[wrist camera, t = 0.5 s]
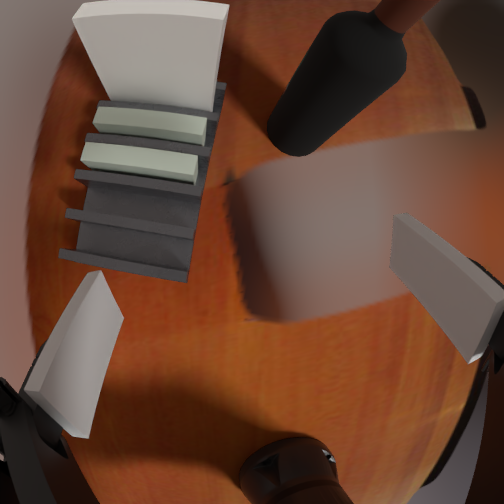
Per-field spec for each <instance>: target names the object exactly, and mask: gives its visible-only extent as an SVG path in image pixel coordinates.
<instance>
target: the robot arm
mask: <svg viewBox="0 0 504 504" xmlns="http://www.w3.org/2000/svg"><path fill="white" fill-rule="evenodd" d="M389 267H390V268H391V270H392V271H393V272H394V273H395V274H396V275H397V276H398V277H399V279H401V281H402V282H403V283H404V284H405V285H406V286H407V288H408V289H409V290H410V291H411V292H412V293H413V295H414V296H415V297H416V298H417V299H418V300H419V302H420V303H421V304H422V305H423V306H424V308H425V309H426V310H427V311H428V312H429V314H430V315H431V316H432V317H433V319H434V320H435V321H436V322H437V324H438V325H439V326H440V327H441V329H442V330H443V331H444V332H445V334H446V335H447V336H448V338H449V339H450V340H451V342H452V343H453V344H454V345H455V347H456V348H457V349H458V351H459V352H460V354H461V355H462V356H463V358H464V359H465V360H466V362H467V363H468V364H469V363H471V362H473V361H475V360H476V359H478V358H480V357H481V356H482V355H483V353H484V351H485V349H486V347H487V346H488V344H489V346H490V347H491V348H492V351H491V352H490V354H489V356H488V358H487V360H486V361H485V363H484V365H483V367H482V370H481V371H484V370H485V368H486V367H487V365H488V364H489V369H488V370H487V372H489V379H488V380H489V381H488V395H487V405H486V414H485V422H484V428H483V434H482V440H481V445H480V450H479V455H478V459H477V464H476V468H475V472H474V475H473V479H472V483H471V486H470V489H469V493H468V496H467V499H466V502H465V504H504V285H503V284H502V283H501V282H500V281H499V280H497V279H496V278H495V277H493V276H492V274H491V273H490V272H488V271H486V269H485V268H484V267H483V266H481V265H480V264H479V263H478V262H476V261H474V260H472V259H470V258H468V257H465V256H464V255H463V254H462V253H460V252H459V251H458V250H457V249H455V248H454V247H453V246H451V245H450V244H449V243H448V242H446V241H445V240H444V239H442V238H441V237H440V236H439V235H437V234H436V233H435V232H433V231H432V230H431V229H429V228H428V227H426V226H425V225H424V224H422V223H421V222H419V221H418V220H416V219H415V218H413V217H412V216H411V215H409V214H408V213H403V214H397V215H394V217H393V234H392V247H391V257H390V266H389ZM123 319H124V317H123V315H122V313H121V311H120V309H119V307H118V305H117V303H116V301H115V299H114V297H113V295H112V293H111V291H110V289H109V287H108V284H107V282H106V280H105V278H104V276H103V273H102V271H101V270H99V271H95V272H90V273H87V275H86V276H85V278H84V279H83V281H82V282H81V284H80V285H79V287H78V289H77V290H76V292H75V293H74V295H73V297H72V298H71V300H70V302H69V303H68V305H67V307H66V308H65V310H64V312H63V313H62V315H61V317H60V319H59V320H58V322H57V324H56V326H55V328H54V329H53V331H52V333H51V335H50V337H49V338H48V339H47V340H46V341H45V343H44V344H43V345H42V346H41V347H40V349H39V351H38V353H37V355H36V359H34V361H33V363H32V366H31V367H30V369H29V371H28V374H27V376H26V378H25V380H24V382H23V384H22V387H21V389H20V391H19V393H17V392H16V391H15V390H14V389H13V388H12V387H11V386H10V385H9V383H8V382H7V381H6V380H5V379H4V378H2V377H0V453H1V454H2V455H3V456H4V461H1V460H0V504H100V503H99V502H98V500H97V498H96V497H95V495H94V493H93V492H92V490H91V488H90V486H89V485H88V483H87V481H86V479H85V478H84V476H83V474H82V472H81V470H80V468H79V466H78V464H77V462H76V460H75V458H74V456H73V454H72V452H71V450H70V447H69V445H68V443H67V441H66V439H65V438H64V437H63V436H62V435H61V433H62V429H64V430H66V431H67V432H68V433H69V434H70V435H71V436H73V437H80V438H87V439H89V435H90V430H91V426H92V422H93V418H94V414H95V410H96V406H97V402H98V398H99V395H100V391H101V387H102V384H103V380H104V377H105V374H106V370H107V367H108V364H109V361H110V357H111V354H112V351H113V348H114V345H115V342H116V339H117V336H118V333H119V330H120V327H121V325H122V322H123ZM239 481H240V485H241V489H242V492H243V494H244V495H245V497H246V498H247V499H248V500H249V501H250V502H251V503H252V504H354V503H353V502H352V501H351V499H350V498H349V497H348V495H347V494H346V493H345V491H344V490H343V489H342V487H341V486H340V484H339V480H338V474H337V468H336V462H335V459H334V456H333V455H332V453H331V452H330V450H329V449H328V448H327V446H326V445H324V444H323V443H322V442H320V441H318V440H315V439H312V438H304V437H297V438H289V439H284V440H280V441H277V442H274V443H271V444H269V445H267V446H265V447H263V448H261V449H259V450H258V451H256V452H255V453H254V454H252V455H251V456H250V457H249V458H248V459H247V460H246V461H245V463H244V464H243V466H242V468H241V470H240V473H239Z"/></svg>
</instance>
